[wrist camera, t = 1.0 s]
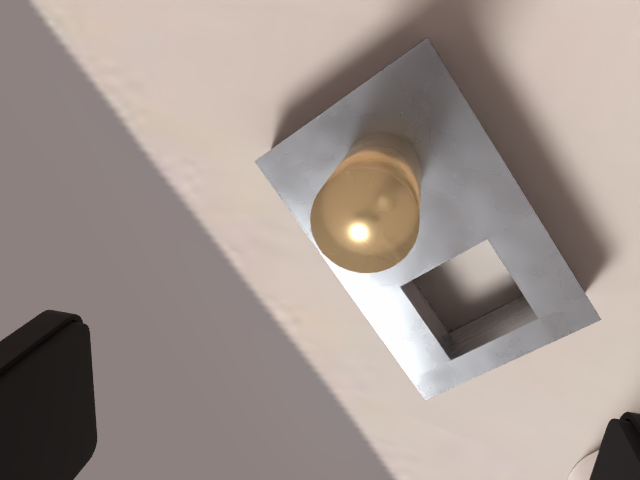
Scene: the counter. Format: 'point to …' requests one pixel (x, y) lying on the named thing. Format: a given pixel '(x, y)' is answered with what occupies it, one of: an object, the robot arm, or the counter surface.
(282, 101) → the counter surface
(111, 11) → the counter surface
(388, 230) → the tan cylindrical peg
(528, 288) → the jig plate
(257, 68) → the counter surface
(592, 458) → the cylindrical container
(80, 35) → the counter surface
